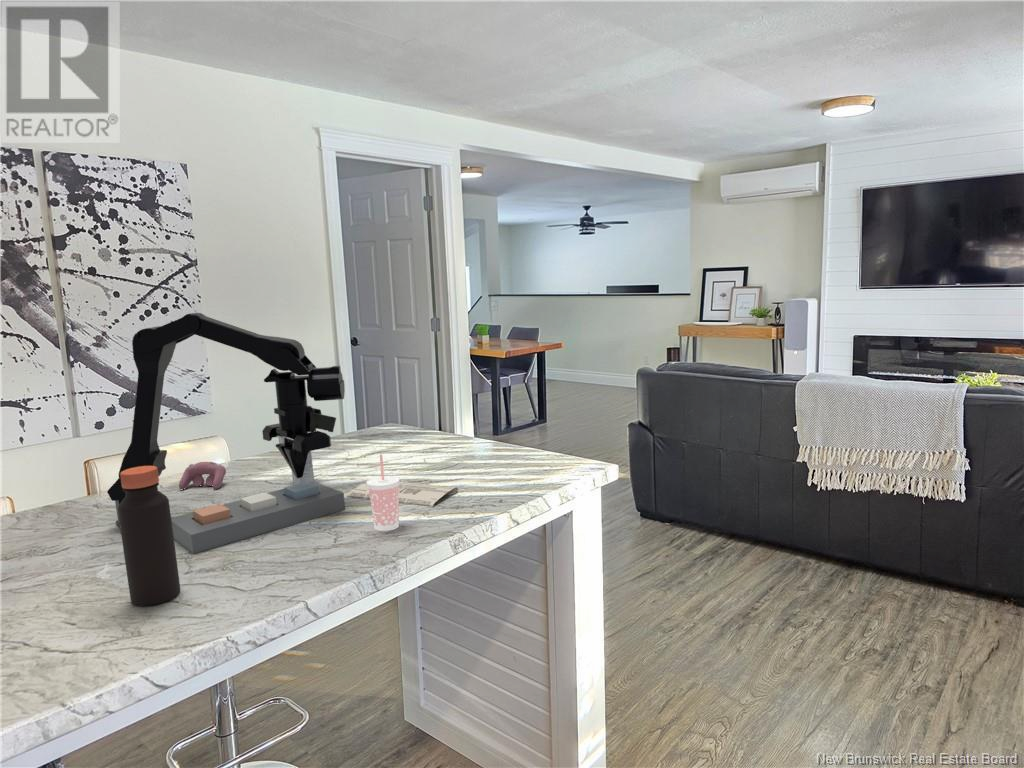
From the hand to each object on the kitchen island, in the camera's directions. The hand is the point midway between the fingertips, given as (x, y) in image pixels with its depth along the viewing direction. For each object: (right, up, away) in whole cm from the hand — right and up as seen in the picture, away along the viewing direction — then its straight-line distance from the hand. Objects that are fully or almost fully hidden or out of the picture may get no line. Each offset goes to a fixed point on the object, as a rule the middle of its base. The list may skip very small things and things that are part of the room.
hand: (299, 477), depth 142 cm
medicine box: (-5, -4, +20) cm, 21 cm away
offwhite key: (-6, -6, -5) cm, 10 cm away
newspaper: (+20, -6, +9) cm, 23 cm away
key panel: (-6, -8, -5) cm, 11 cm away
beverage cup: (+20, -8, -11) cm, 24 cm away
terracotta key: (-13, -7, -11) cm, 19 cm away
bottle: (-11, -14, -36) cm, 40 cm away
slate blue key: (0, -5, +1) cm, 5 cm away
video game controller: (-29, -5, +22) cm, 37 cm away
